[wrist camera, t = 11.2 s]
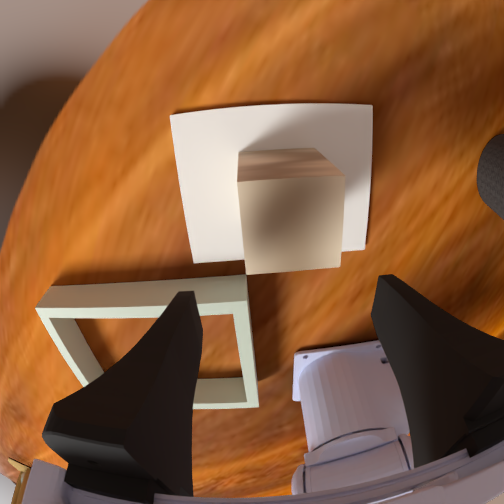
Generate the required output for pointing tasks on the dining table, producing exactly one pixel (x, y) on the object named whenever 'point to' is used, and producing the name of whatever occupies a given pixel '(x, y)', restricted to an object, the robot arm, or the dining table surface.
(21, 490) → the hourglass
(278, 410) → the dining table surface
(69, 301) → the pale grey-green open frame
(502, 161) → the coffee cup
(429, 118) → the dining table surface
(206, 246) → the white mat
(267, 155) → the ash block
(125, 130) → the dining table surface
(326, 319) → the dining table surface
